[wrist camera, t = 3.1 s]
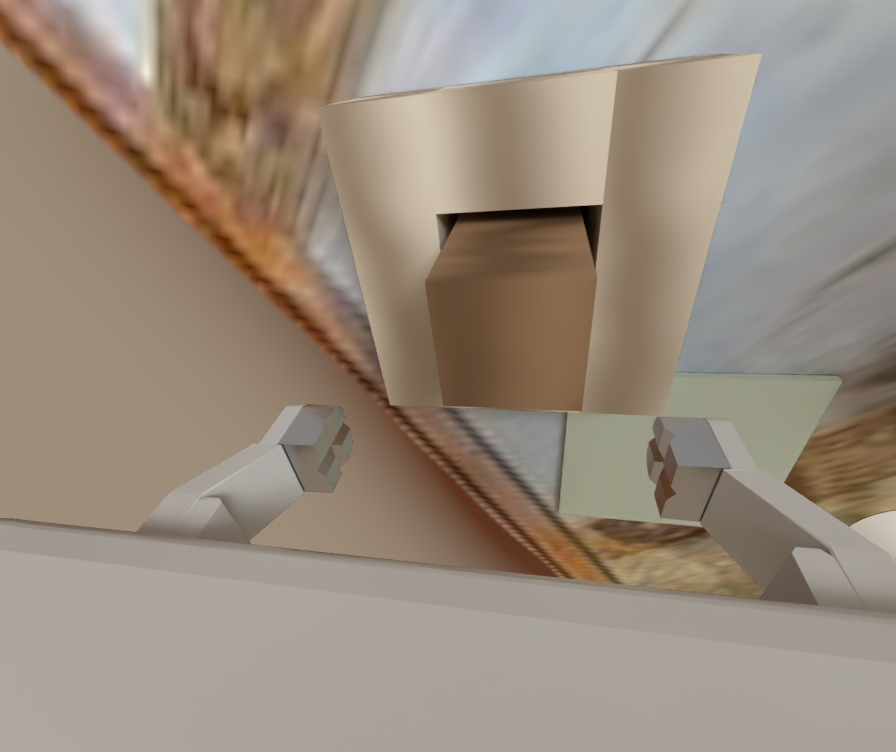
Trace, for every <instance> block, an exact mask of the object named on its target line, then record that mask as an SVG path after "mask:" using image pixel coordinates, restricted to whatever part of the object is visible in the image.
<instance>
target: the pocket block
mask: <svg viewBox="0 0 896 752" xmlns="http://www.w3.org/2000/svg"><path fill="white" fill-rule="evenodd" d="M761 57H762V54H708V55H700V56H692V57H683V58H675V59H667V60H659V61H651V62H643V63H635V64H626V65H618V66H610V67H602V68H594V69H586V70H578V71H570V72H561V73H553V74H545V75H537V76H529V77H521V78H513V79H504V80H496V81H488V82H480V83H472V84H464V85H456V86H447V87H439V88H431V89H423V90H415V91H407V92H399V93H390V94H382V95H374V96H366V97H360V98H356V99H352V100H347V101H343V102H338V103H334V104H329V105H325V106H320V107H316V109H317V113H318V117H319V121H320V125H321V129H322V133H323V137H324V141H325V145H326V149H327V153H328V157H329V161H330V165H331V170H332V174H333V178H334V182H335V186H336V190H337V194H338V198H339V202H340V206H341V210H342V214H343V218H344V222H345V226H346V230H347V234H348V238H349V242H350V246H351V250H352V254H353V258H354V262H355V266H356V270H357V274H358V278H359V282H360V286H361V290H362V294H363V298H364V302H365V306H366V310H367V314H368V318H369V322H370V326H371V330H372V334H373V338H374V342H375V346H376V350H377V354H378V359H379V363H380V367H381V371H382V375H383V379H384V383H385V387H386V391H387V395H388V399H389V403H390V405H399V406H424V407H449V408H473V409H498V410H523V411H547V412H572V413H597V414H621V415H646V416H663V415H664V411H665V407H666V404H667V400H668V397H669V393H670V389H671V386H672V382H673V378H674V375H675V371H676V367H677V364H678V360H679V356H680V353H681V349H682V345H683V342H684V338H685V335H686V331H687V327H688V324H689V320H690V316H691V313H692V309H693V305H694V302H695V298H696V294H697V291H698V287H699V283H700V280H701V276H702V273H703V269H704V265H705V262H706V258H707V254H708V251H709V247H710V243H711V240H712V236H713V232H714V229H715V225H716V221H717V218H718V214H719V210H720V207H721V203H722V200H723V196H724V192H725V189H726V185H727V181H728V178H729V174H730V170H731V167H732V163H733V159H734V156H735V152H736V148H737V145H738V141H739V138H740V134H741V130H742V127H743V123H744V119H745V116H746V112H747V108H748V105H749V101H750V97H751V94H752V90H753V86H754V83H755V79H756V76H757V72H758V68H759V65H760V61H761ZM585 205H588V206H587V217H586V228H585V229H586V233H587V238H588V242H589V246H590V250H591V254H592V258H593V262H594V266H595V270H596V275H597V285H596V294H595V303H594V311H593V320H592V328H591V337H590V346H589V354H588V363H587V371H586V380H585V389H584V397H583V406H582V411H559V410H534V409H509V408H484V407H459V406H443V401H442V395H441V388H440V381H439V375H438V368H437V361H436V354H435V348H434V341H433V334H432V328H431V321H430V314H429V307H428V301H427V294H426V287H425V281H426V279H427V277H428V275H429V273H430V271H431V269H432V267H433V265H434V263H435V261H436V260H437V258H438V256H439V254H440V252H441V250H442V248H443V246H444V244H445V242H446V240H447V239H448V237H449V235H450V233H451V231H452V229H453V227H454V225H455V223H456V221H457V219H458V217H459V213H465V212H482V211H499V210H517V209H534V208H551V207H568V206H585Z"/></svg>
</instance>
